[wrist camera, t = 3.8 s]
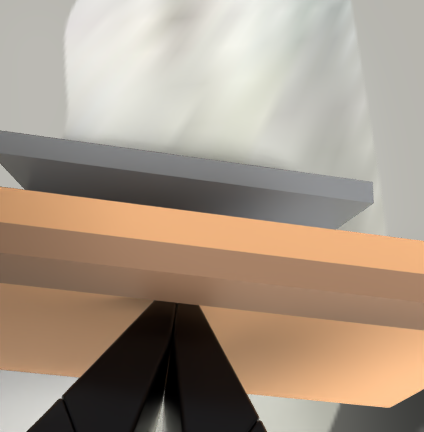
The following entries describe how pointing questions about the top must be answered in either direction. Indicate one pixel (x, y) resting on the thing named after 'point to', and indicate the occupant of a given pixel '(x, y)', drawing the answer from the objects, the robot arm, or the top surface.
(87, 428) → the robot arm
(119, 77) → the top surface
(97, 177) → the cable duct
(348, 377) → the duct cover
